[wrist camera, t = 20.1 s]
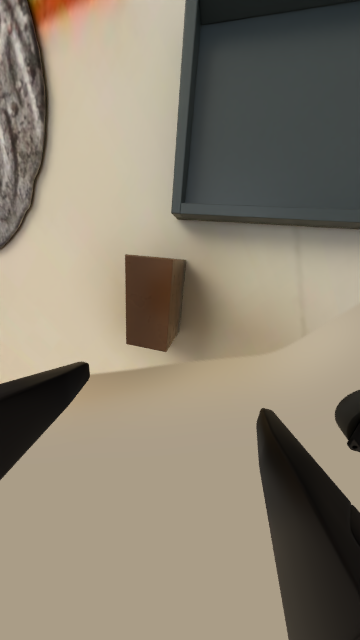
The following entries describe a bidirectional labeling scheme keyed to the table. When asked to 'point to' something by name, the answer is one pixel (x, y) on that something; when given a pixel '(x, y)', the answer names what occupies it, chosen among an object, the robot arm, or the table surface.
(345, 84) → the tray
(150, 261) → the brown rectangular block
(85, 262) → the table surface
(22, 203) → the ancient coin
